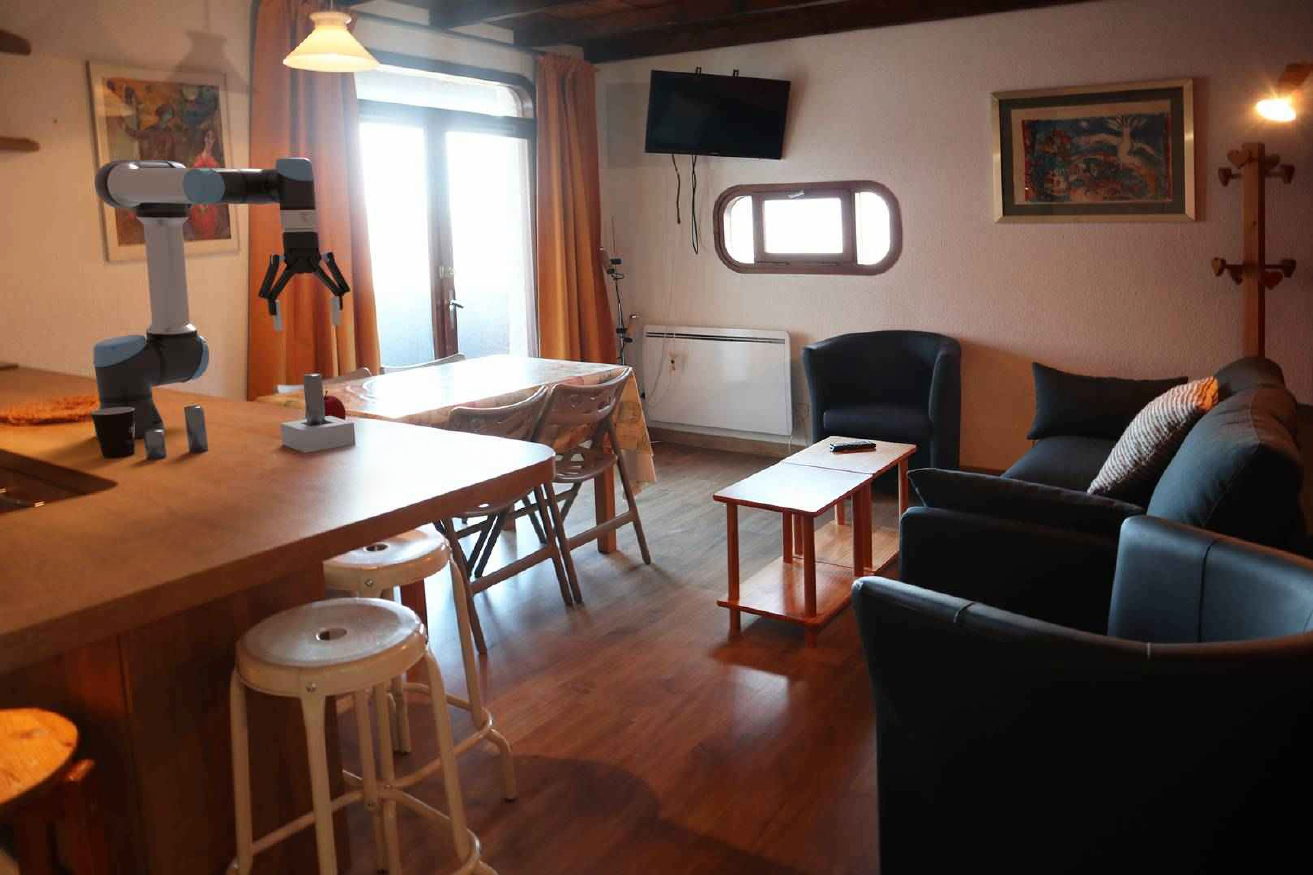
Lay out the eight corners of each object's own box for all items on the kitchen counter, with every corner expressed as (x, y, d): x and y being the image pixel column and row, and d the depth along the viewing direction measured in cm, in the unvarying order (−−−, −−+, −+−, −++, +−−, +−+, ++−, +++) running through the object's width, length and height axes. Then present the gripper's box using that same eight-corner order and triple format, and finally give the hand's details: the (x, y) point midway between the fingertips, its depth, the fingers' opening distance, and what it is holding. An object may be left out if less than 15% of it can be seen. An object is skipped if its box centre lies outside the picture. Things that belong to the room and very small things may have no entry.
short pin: (144, 457, 236) (140, 431, 234) (163, 454, 238) (160, 428, 237) (150, 460, 233) (146, 433, 231) (169, 457, 235) (166, 430, 234)
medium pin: (186, 450, 241) (181, 407, 239) (204, 448, 244) (199, 404, 242) (192, 453, 239) (187, 409, 236) (211, 450, 241) (206, 406, 239)
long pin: (313, 447, 243) (307, 377, 239) (306, 444, 245) (299, 375, 242) (330, 444, 245) (324, 375, 242) (322, 441, 248) (316, 373, 245)
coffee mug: (122, 460, 234) (117, 414, 232) (88, 459, 235) (82, 414, 233) (157, 448, 245) (151, 405, 243) (123, 447, 247) (118, 404, 244)
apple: (341, 425, 267) (337, 385, 264) (351, 431, 259) (348, 390, 257) (303, 430, 262) (299, 389, 260) (312, 436, 254) (308, 395, 252)
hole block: (282, 444, 246) (280, 423, 245) (332, 436, 254) (330, 415, 253) (305, 452, 237) (303, 430, 236) (355, 444, 245) (353, 422, 244)
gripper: (250, 232, 224) (260, 334, 229) (360, 229, 241) (367, 324, 245) (236, 232, 230) (246, 331, 234) (345, 229, 246) (352, 321, 251)
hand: (308, 327), depth 240 cm, fingers open, 13 cm apart
